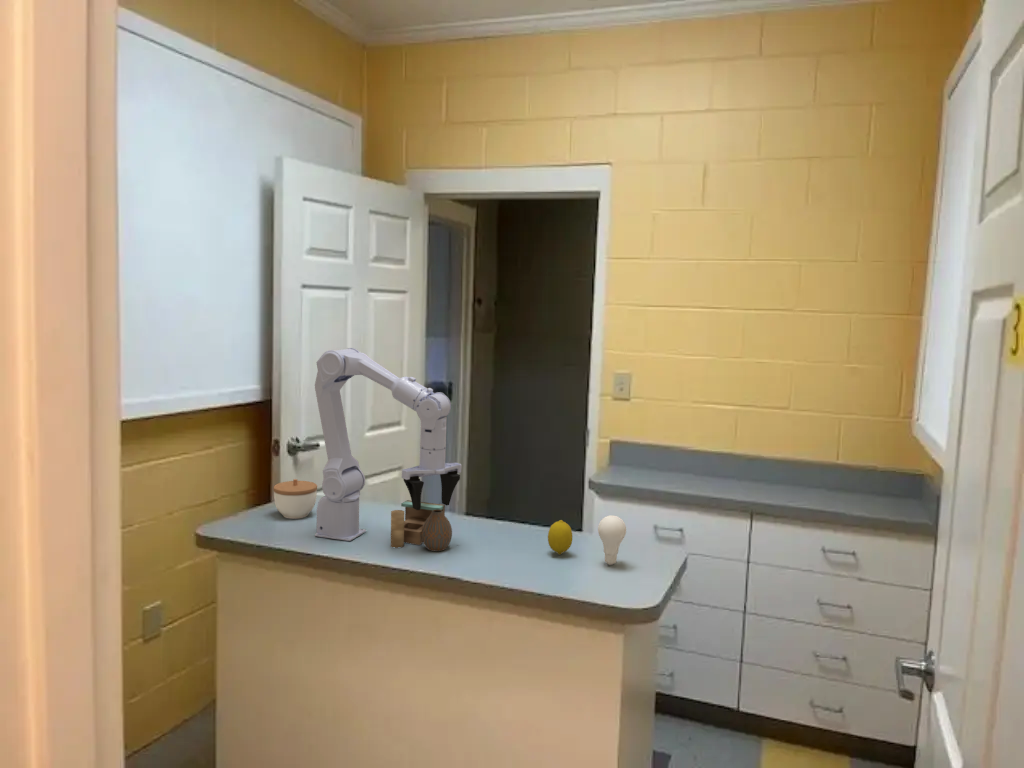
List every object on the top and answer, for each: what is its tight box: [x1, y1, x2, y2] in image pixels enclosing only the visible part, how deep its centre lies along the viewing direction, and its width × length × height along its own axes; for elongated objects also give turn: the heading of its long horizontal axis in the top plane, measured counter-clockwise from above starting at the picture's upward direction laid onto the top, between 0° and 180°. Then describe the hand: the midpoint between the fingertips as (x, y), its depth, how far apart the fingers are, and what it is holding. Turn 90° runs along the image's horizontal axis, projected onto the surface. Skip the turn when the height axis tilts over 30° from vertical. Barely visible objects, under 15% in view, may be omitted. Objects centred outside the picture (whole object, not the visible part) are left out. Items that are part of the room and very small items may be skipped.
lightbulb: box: [597, 515, 627, 566], centre depth 169 cm, size 6×6×11 cm
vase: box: [422, 510, 453, 552], centre depth 176 cm, size 7×7×9 cm
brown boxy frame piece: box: [400, 499, 446, 546], centre depth 184 cm, size 10×11×7 cm
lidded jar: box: [273, 478, 318, 520], centre depth 197 cm, size 11×11×9 cm
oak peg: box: [390, 509, 405, 549], centre depth 177 cm, size 3×3×8 cm
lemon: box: [547, 519, 573, 556], centre depth 174 cm, size 6×6×8 cm
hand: (431, 506), depth 175 cm, fingers open, 7 cm apart
